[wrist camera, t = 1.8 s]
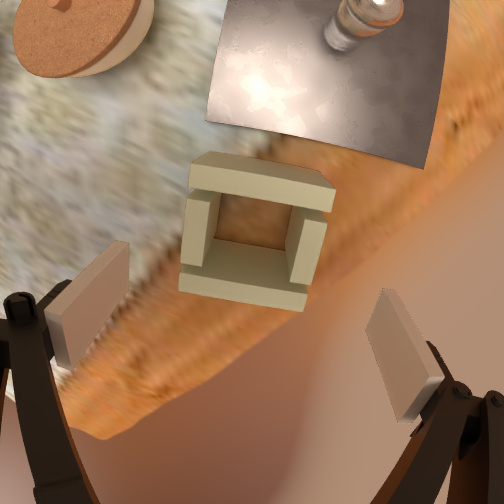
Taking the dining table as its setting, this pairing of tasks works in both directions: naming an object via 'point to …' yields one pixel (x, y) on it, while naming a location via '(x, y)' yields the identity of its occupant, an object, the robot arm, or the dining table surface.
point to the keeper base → (334, 71)
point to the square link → (249, 256)
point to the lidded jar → (78, 34)
